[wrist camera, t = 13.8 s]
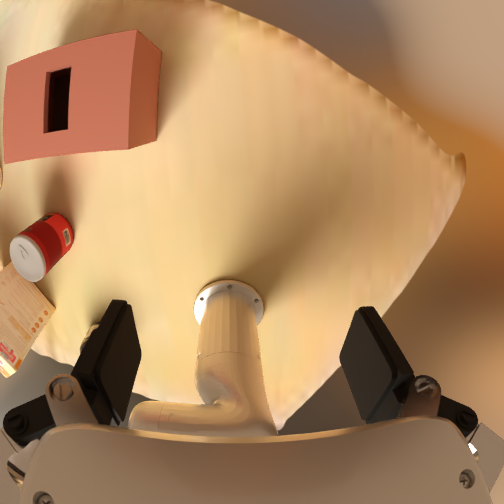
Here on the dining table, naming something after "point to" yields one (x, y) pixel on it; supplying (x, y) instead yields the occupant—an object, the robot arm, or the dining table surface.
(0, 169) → the fruit juice
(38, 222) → the canned food
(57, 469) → the robot arm
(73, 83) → the box
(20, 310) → the coffeecake box
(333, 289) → the dining table surface
